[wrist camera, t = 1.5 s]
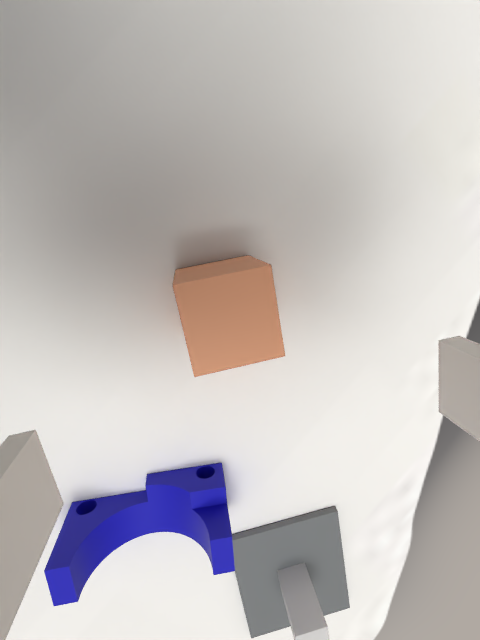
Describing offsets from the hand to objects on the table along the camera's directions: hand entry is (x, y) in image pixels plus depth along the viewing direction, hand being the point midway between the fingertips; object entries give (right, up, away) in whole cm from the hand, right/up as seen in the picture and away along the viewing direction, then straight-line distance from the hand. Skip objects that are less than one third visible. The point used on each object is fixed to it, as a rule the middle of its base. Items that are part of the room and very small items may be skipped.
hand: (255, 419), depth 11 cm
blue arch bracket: (-8, -11, +18) cm, 22 cm away
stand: (+4, -20, +22) cm, 30 cm away
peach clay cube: (-2, +5, +14) cm, 15 cm away
